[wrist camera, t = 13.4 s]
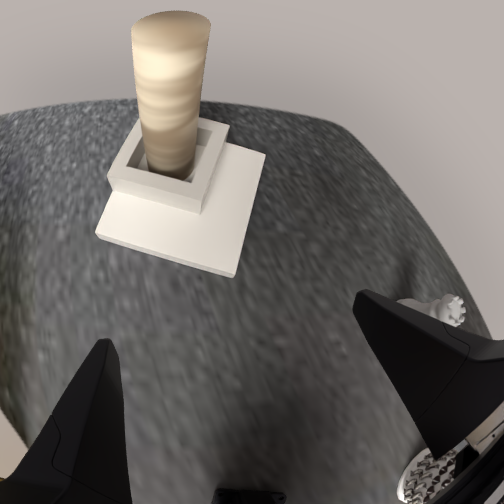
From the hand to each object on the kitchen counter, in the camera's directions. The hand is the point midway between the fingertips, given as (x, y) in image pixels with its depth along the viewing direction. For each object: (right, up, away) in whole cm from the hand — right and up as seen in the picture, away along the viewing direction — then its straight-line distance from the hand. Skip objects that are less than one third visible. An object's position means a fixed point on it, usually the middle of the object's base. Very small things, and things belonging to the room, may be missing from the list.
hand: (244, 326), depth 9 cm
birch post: (-7, +10, +14) cm, 19 cm away
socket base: (-6, +7, +15) cm, 18 cm away
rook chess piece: (+16, -5, +17) cm, 24 cm away
